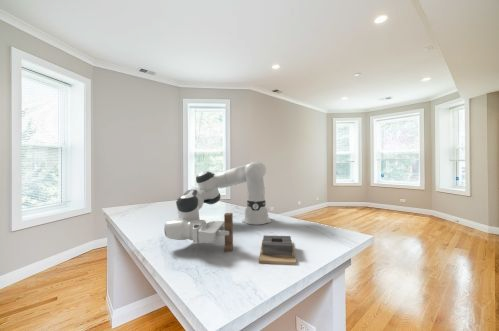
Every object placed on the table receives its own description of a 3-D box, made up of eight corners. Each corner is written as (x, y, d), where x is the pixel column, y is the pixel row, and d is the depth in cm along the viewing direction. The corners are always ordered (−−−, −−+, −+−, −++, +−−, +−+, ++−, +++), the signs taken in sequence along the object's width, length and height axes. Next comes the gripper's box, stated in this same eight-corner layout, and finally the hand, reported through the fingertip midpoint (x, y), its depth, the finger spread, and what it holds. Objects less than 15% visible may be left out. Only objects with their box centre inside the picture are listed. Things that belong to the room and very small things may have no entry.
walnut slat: (226, 248, 103) (225, 213, 103) (232, 249, 103) (232, 213, 102) (224, 251, 100) (224, 214, 100) (231, 251, 100) (231, 214, 99)
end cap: (262, 241, 112) (262, 231, 112) (291, 242, 110) (291, 232, 110) (258, 263, 88) (258, 250, 88) (296, 264, 86) (296, 251, 86)
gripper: (207, 230, 113) (234, 231, 111) (192, 245, 93) (225, 246, 91) (206, 217, 113) (234, 218, 111) (191, 229, 93) (225, 230, 91)
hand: (230, 230), depth 101 cm, fingers open, 4 cm apart
